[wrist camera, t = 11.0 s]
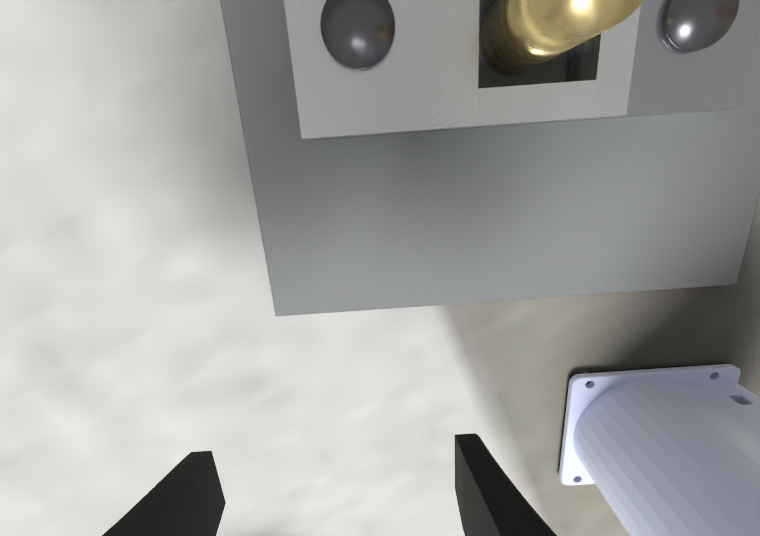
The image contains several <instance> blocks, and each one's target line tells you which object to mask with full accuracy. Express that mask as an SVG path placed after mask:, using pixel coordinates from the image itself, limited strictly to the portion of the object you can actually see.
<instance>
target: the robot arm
mask: <svg viewBox="0 0 760 536" xmlns="http://www.w3.org/2000/svg"><path fill="white" fill-rule="evenodd" d="M740 375H741V371H740V369H739V368H737V367H736V366H734V365H732V364H720V365H705V366H690V367H675V368H660V369H645V370H630V371H616V372H601V373H586V374H576V375H574V376H572V378H571V379H570V381H569V388H568V397H567V406H566V415H565V424H564V433H563V442H562V451H561V460H560V469H559V479H560V480H561V482H562V483H563V484H564V485H582V484H596V485H597V487H598V488H599V490H600V491H601V493H602V494H603V496H604V498H605V499H606V501H607V502H608V504H609V505H610V507H611V508H612V510H613V511H614V513H615V514H616V516H617V517H618V519H619V520H620V522H621V523H622V525H623V526H624V528H625V529H626V531H627V532H628V534H629V535H630V536H760V397H759V396H757V395H756V394H754V393H752V392H751V391H749V390H748V389H746V388H745V387H743V386H742V385H740V384H738V382H739V378H740ZM588 381H590V382H589V383H588V384H586V383H587V382H588ZM455 490H456V495H457V500H458V506H459V511H460V516H461V521H462V526H463V530H464V533H465V536H557V535H556V534H555V533H554V532H553V531H552V530H551V529H550V527H549V526H548V525H547V524H546V523H545V522H544V521H543V519H542V518H541V517H540V516H539V515H538V514H537V513H536V511H535V510H534V509H533V508H532V507H531V505H530V504H529V503H528V502H527V501H526V499H525V498H524V497H523V496H522V494H521V493H520V492H519V491H518V489H517V488H516V487H515V486H514V484H513V483H512V482H511V481H510V479H509V478H508V477H507V475H506V474H505V473H504V471H503V470H502V469H501V467H500V466H499V465H498V463H497V462H496V461H495V459H494V458H493V456H492V455H491V453H490V452H489V451H488V449H487V448H486V446H485V445H484V443H483V442H482V440H481V439H480V437H479V436H478V435H477V434H461V435H455ZM224 506H225V499H224V496H223V492H222V488H221V484H220V481H219V477H218V473H217V470H216V466H215V462H214V459H213V455H212V451H203V452H191V453H190V454H189V455H187V456H186V457H185V458H184V459H183V460H182V461H181V462H180V463H179V464H178V465H177V466H176V467H175V468H174V469H173V470H172V471H170V472H169V473H168V474H167V475H166V476H165V477H164V478H163V479H162V480H161V481H160V482H159V483H158V484H157V485H156V486H155V487H154V488H153V489H152V490H151V491H150V492H149V493H148V494H147V495H146V496H145V497H143V498H142V499H141V500H140V501H139V502H138V503H137V504H136V505H135V506H134V507H133V508H132V509H131V510H130V511H129V512H128V513H127V514H126V515H124V516H123V517H122V518H121V519H120V520H119V521H118V522H117V523H116V524H115V525H114V526H112V527H111V528H110V529H109V530H108V531H107V532H106V533H105V534H104V535H102V536H216V533H217V530H218V527H219V524H220V520H221V517H222V513H223V510H224Z"/></svg>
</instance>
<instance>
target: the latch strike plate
mask: <svg viewBox="0 0 760 536" xmlns="http://www.w3.org/2000/svg"><path fill="white" fill-rule="evenodd" d="M284 6H285V13H286V21H287V29H288V37H289V44H290V52H291V60H292V68H293V75H294V83H295V91H296V99H297V106H298V114H299V122H300V130H301V137H302V139H306V140H312V141H313V140H326V139H340V138H354V137H367V136H381V135H395V134H408V133H422V132H436V131H449V130H463V129H477V128H490V127H504V126H517V125H531V124H545V123H558V122H572V121H586V120H599V119H613V118H627V117H640V116H654V115H668V114H681V113H695V112H709V111H719V110H727V109H736V108H740V107H741V103H742V98H743V94H744V89H745V85H746V80H747V76H748V71H749V67H750V62H751V58H752V53H753V49H754V44H755V40H756V35H757V31H758V26H759V22H760V0H644V1H643V2H642V3H641V5H640V6H639V7H638V8H637V9H636V10H635V11H634V12H633V13H632V14H631V15H630V16H629V17H628V18H626V19H625V20H624V21H622V22H621V23H619V24H617V25H615V26H614V27H612V28H610V29H608V30H606V31H604V32H602V33H600V34H598V35H596V36H594V37H592V38H591V39H589V40H587V41H585V42H583V43H581V44H579V45H577V46H575V47H573V48H571V49H569V50H567V59H566V71H565V82H559V83H546V84H533V85H519V86H506V87H492V88H479V89H478V65H479V0H284Z"/></svg>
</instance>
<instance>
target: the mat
mask: <svg viewBox="0 0 760 536" xmlns="http://www.w3.org/2000/svg"><path fill="white" fill-rule="evenodd" d="M220 1H221V7H222V13H223V18H224V24H225V30H226V35H227V41H228V47H229V53H230V58H231V64H232V70H233V75H234V81H235V87H236V92H237V98H238V104H239V109H240V115H241V121H242V127H243V132H244V138H245V144H246V149H247V155H248V161H249V166H250V172H251V178H252V183H253V189H254V195H255V201H256V206H257V212H258V218H259V223H260V229H261V235H262V240H263V246H264V252H265V257H266V263H267V269H268V275H269V280H270V286H271V292H272V297H273V303H274V309H275V314H276V316H287V315H302V314H316V313H331V312H345V311H360V310H374V309H389V308H403V307H418V306H432V305H447V304H461V303H476V302H490V301H505V300H519V299H534V298H548V297H562V296H577V295H591V294H606V293H620V292H635V291H649V290H664V289H678V288H693V287H707V286H722V285H736V284H737V280H738V276H739V272H740V268H741V264H742V260H743V256H744V252H745V248H746V244H747V241H748V237H749V233H750V229H751V225H752V221H753V217H754V213H755V209H756V205H757V202H758V198H759V194H760V22H759V26H758V31H757V35H756V40H755V44H754V49H753V53H752V58H751V62H750V67H749V71H748V76H747V80H746V85H745V89H744V94H743V98H742V103H741V107H740V108H736V109H727V110H719V111H709V112H695V113H681V114H668V115H654V116H640V117H627V118H613V119H599V120H586V121H572V122H558V123H545V124H531V125H517V126H504V127H490V128H477V129H463V130H449V131H436V132H422V133H408V134H395V135H381V136H367V137H354V138H340V139H326V140H313V141H312V140H306V139H302V137H301V130H300V122H299V114H298V106H297V99H296V91H295V83H294V75H293V68H292V60H291V52H290V44H289V37H288V29H287V21H286V13H285V6H284V0H220ZM495 1H496V0H479V32H480V27H481V24H482V21H483V19H484V17H485V15H486V13H487V11H488V10H489V9H490V7H491V6H492V5H493V4H494V2H495ZM566 59H567V51H566V52H564V53H562V54H560V55H558V56H556V57H554V58H552V59H550V60H548V61H546V62H544V63H543V64H541V65H539V66H537V67H535V68H533V69H531V70H529V71H527V72H525V73H523V74H520V75H515V76H507V75H502V74H500V73H497V72H496V71H494V70H493V69H491V68H490V67H489V66H488V64H487V63H486V62H485V60H484V58H483V56H482V54H481V50H480V45H479V65H478V89H479V88H492V87H506V86H519V85H533V84H546V83H559V82H565V71H566Z"/></svg>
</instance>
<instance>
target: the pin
mask: <svg viewBox="0 0 760 536" xmlns="http://www.w3.org/2000/svg"><path fill="white" fill-rule="evenodd" d="M643 1H644V0H496V1H495V2H494V4H493V5H492V6H491V7H490V9H489V10H488V11H487V13H486V15H485V17H484V19H483V21H482V24H481V27H480V32H479V45H480V50H481V54H482V56H483V58H484V60H485V62H486V63H487V64H488V66H489V67H490V68H491V69H493V70H494V71H496V72H497V73H500V74H502V75H507V76H515V75H520V74H523V73H525V72H527V71H529V70H531V69H533V68H535V67H537V66H539V65H541V64H543V63H544V62H546V61H548V60H550V59H552V58H554V57H556V56H558V55H560V54H562V53H564V52H566V51H567V50H569V49H571V48H573V47H575V46H577V45H579V44H581V43H583V42H585V41H587V40H589V39H591V38H592V37H594V36H596V35H598V34H600V33H602V32H604V31H606V30H608V29H610V28H612V27H614V26H615V25H617V24H619V23H621V22H622V21H624V20H625V19H626V18H628V17H629V16H630V15H631V14H632V13H633V12H634V11H635V10H636V9H637V8H638V7H639V6H640V5H641V3H642V2H643Z"/></svg>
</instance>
